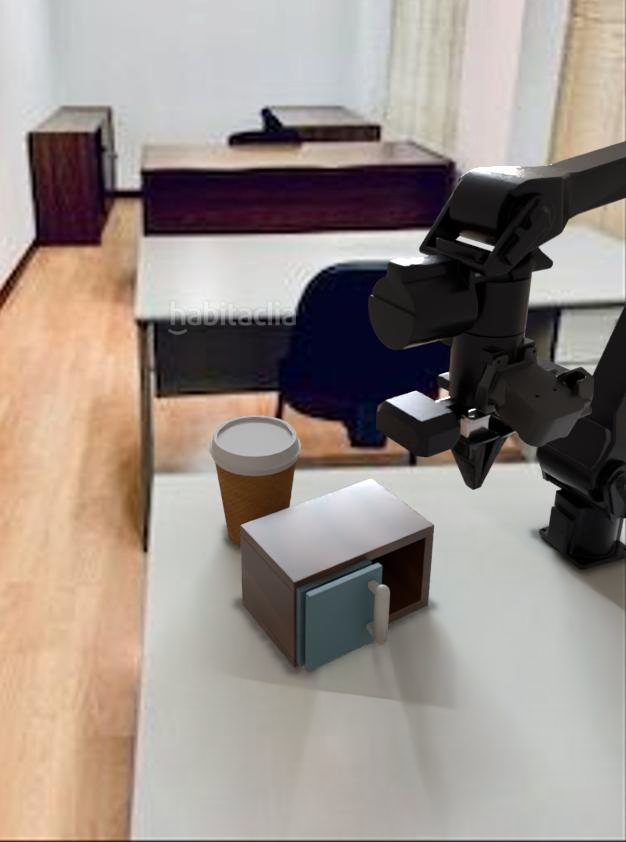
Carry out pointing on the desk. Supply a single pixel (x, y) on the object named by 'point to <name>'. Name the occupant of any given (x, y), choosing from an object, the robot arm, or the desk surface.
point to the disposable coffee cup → (254, 468)
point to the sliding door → (346, 616)
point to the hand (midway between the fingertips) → (472, 486)
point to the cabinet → (332, 557)
